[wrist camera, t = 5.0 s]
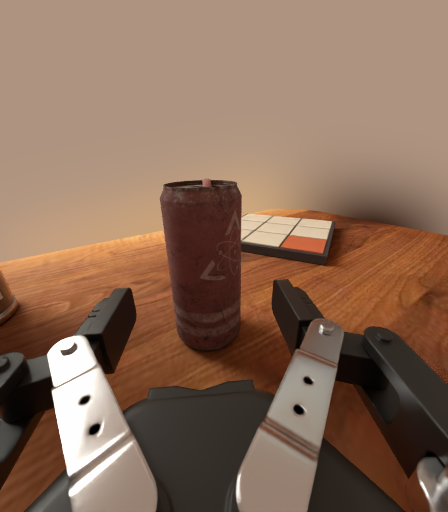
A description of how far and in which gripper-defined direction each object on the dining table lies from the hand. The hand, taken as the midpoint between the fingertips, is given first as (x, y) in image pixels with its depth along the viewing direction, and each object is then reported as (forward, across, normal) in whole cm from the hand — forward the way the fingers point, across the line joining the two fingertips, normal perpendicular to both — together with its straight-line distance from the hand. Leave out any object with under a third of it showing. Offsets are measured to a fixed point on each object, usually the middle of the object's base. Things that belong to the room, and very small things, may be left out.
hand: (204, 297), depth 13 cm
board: (+34, -15, +8) cm, 38 cm away
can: (+7, 0, +9) cm, 11 cm away
